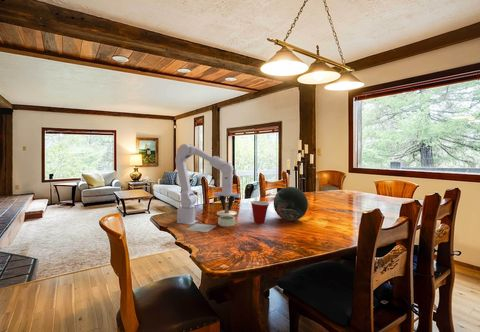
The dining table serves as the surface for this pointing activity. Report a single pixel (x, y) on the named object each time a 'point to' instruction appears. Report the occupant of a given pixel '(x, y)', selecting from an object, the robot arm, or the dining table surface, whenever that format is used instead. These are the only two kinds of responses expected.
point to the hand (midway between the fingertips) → (226, 209)
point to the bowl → (226, 221)
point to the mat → (201, 227)
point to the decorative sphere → (290, 203)
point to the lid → (226, 212)
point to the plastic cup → (259, 211)
